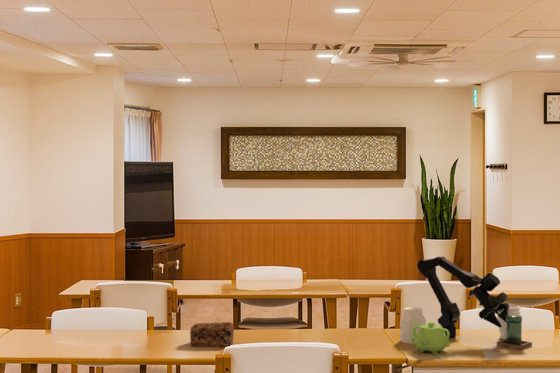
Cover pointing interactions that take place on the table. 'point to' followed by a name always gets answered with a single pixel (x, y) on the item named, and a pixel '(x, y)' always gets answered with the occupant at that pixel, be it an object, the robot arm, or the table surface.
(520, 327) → the tea canister
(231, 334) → the bread
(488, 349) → the cork coaster
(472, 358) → the table surface
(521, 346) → the walnut tray
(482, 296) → the robot arm
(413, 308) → the jar
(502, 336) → the jar
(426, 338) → the teapot
